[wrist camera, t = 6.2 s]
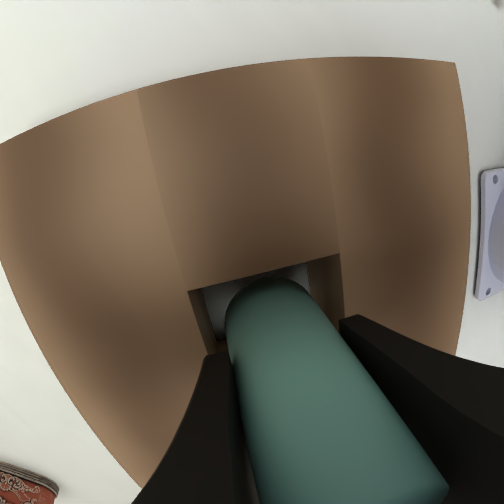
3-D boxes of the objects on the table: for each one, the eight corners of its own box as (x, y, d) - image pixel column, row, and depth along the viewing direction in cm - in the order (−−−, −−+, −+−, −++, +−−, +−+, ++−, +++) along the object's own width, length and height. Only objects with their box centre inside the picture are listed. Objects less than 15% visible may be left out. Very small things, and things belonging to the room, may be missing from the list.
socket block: (395, 76, 12) (455, 62, 8) (407, 365, 17) (442, 405, 14) (28, 152, 10) (-28, 159, 7) (147, 436, 16) (144, 491, 12)
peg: (308, 266, 11) (470, 452, 3) (319, 343, 12) (428, 522, 4) (213, 291, 10) (255, 540, 3) (236, 367, 11) (286, 576, 4)
